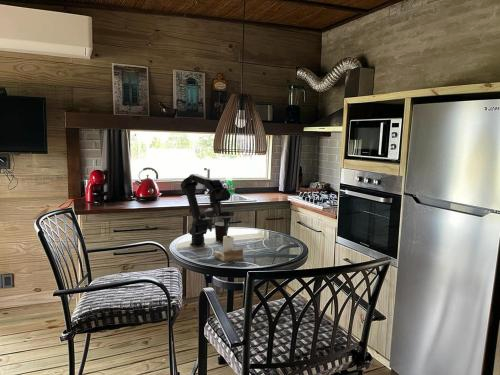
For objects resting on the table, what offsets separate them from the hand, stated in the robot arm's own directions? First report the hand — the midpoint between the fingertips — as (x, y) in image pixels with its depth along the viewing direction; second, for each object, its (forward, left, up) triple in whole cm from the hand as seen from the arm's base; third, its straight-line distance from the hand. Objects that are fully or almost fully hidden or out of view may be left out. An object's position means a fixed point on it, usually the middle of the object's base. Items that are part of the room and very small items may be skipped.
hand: (218, 231), depth 207 cm
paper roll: (+8, -4, -12) cm, 15 cm away
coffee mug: (-12, +22, -12) cm, 28 cm away
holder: (+8, -4, -12) cm, 15 cm away
